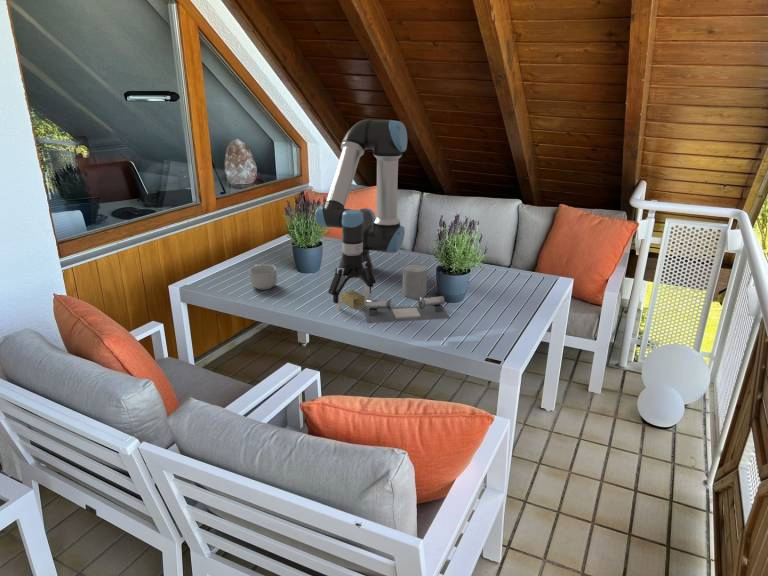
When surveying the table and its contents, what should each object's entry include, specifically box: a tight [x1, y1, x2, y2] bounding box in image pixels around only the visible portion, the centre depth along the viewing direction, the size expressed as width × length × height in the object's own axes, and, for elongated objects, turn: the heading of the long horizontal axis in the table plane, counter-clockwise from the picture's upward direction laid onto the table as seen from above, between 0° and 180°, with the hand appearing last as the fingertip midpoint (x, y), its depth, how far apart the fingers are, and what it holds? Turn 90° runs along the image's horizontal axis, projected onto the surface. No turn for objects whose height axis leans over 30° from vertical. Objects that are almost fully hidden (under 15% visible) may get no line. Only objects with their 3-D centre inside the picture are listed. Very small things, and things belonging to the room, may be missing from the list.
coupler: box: [341, 289, 366, 309], centre depth 217 cm, size 8×5×5 cm, turn 37°
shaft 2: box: [417, 295, 445, 312], centre depth 212 cm, size 9×4×6 cm, turn 110°
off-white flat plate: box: [392, 308, 420, 318], centre depth 210 cm, size 7×9×1 cm
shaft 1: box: [365, 298, 392, 316], centre depth 209 cm, size 9×4×6 cm, turn 90°
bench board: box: [363, 305, 451, 324], centre depth 210 cm, size 12×30×1 cm, turn 100°
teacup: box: [248, 264, 278, 291], centre depth 235 cm, size 14×11×8 cm
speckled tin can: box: [401, 263, 428, 300], centre depth 226 cm, size 10×10×12 cm
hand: (352, 306), depth 218 cm, fingers open, 13 cm apart
